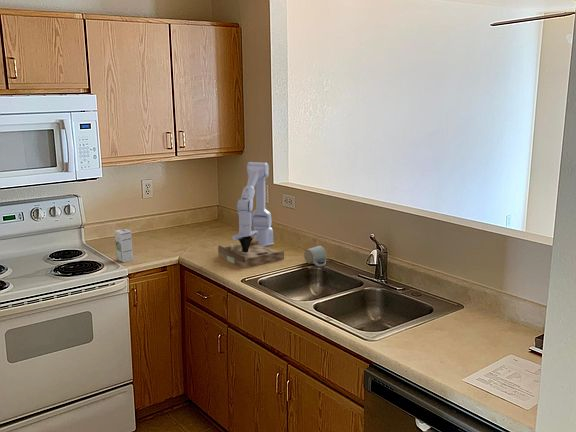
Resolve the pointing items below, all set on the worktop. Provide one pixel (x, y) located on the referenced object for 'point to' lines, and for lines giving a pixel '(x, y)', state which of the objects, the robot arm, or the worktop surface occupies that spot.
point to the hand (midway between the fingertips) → (245, 252)
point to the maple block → (236, 248)
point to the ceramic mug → (315, 256)
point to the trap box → (250, 255)
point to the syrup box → (123, 245)
